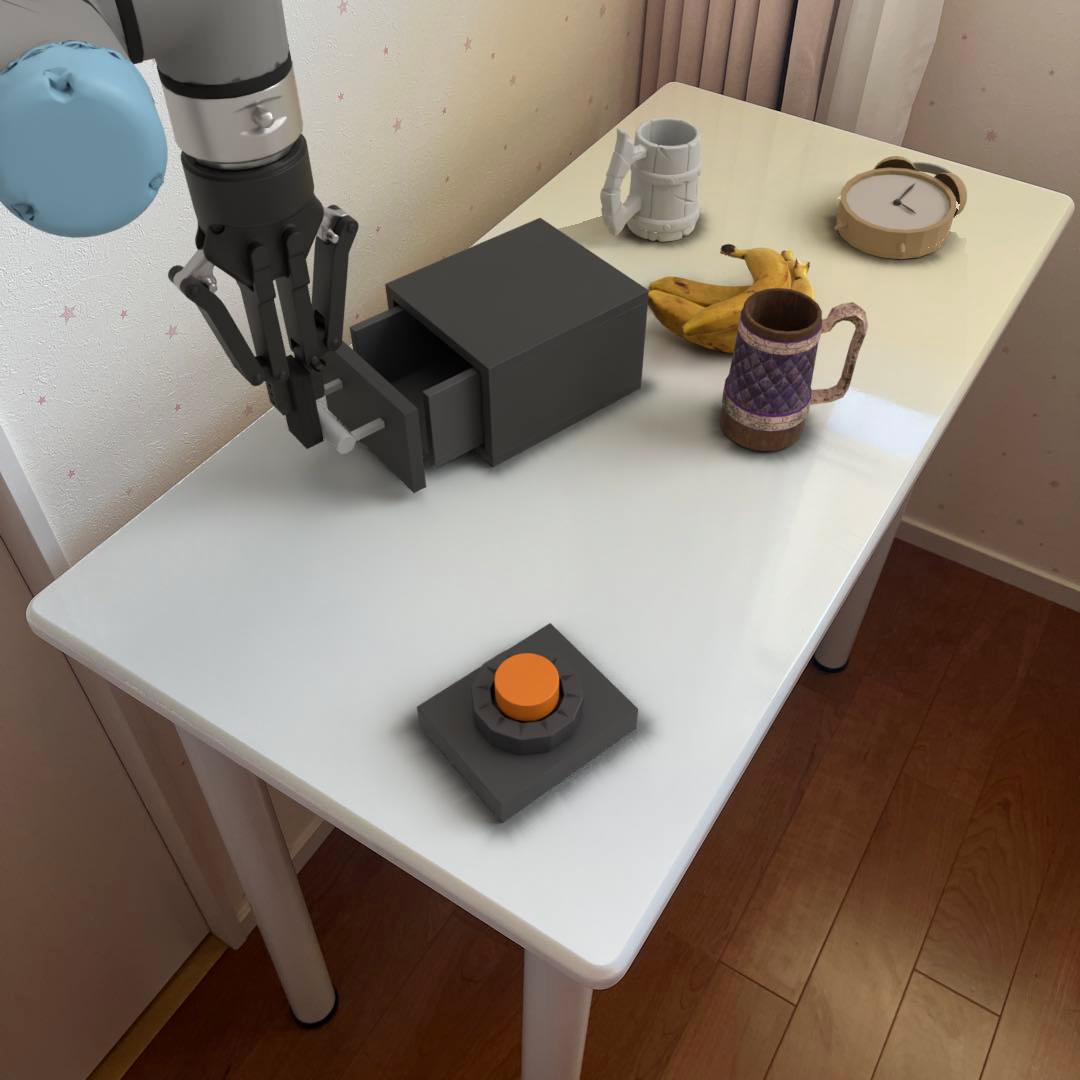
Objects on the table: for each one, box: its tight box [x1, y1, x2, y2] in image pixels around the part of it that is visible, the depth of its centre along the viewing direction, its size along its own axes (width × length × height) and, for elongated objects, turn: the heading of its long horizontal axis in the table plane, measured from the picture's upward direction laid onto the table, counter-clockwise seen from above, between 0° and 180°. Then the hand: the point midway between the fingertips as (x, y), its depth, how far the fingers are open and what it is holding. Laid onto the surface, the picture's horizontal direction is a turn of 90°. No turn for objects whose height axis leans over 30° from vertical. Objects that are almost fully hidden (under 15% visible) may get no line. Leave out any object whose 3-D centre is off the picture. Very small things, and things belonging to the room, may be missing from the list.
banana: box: [648, 243, 816, 354], centre depth 101 cm, size 15×19×6 cm
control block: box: [416, 622, 639, 824], centre depth 71 cm, size 11×9×4 cm
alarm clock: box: [833, 155, 968, 260], centre depth 112 cm, size 11×5×15 cm
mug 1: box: [599, 116, 703, 243], centre depth 108 cm, size 8×12×12 cm, turn 128°
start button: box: [494, 653, 559, 721], centre depth 69 cm, size 4×4×2 cm
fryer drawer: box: [316, 305, 485, 494], centre depth 88 cm, size 19×13×8 cm
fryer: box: [384, 217, 650, 468], centre depth 92 cm, size 16×14×10 cm
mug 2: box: [719, 288, 869, 452], centre depth 88 cm, size 10×7×12 cm
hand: (306, 435), depth 83 cm, fingers closed
